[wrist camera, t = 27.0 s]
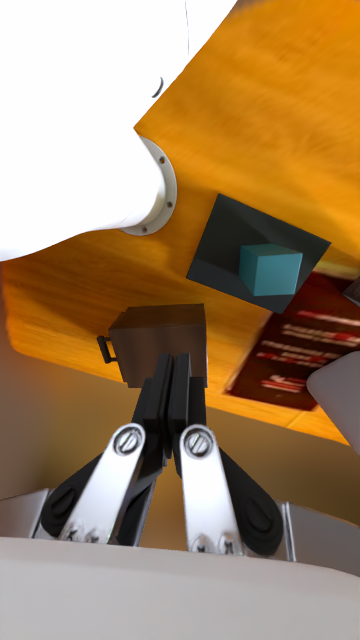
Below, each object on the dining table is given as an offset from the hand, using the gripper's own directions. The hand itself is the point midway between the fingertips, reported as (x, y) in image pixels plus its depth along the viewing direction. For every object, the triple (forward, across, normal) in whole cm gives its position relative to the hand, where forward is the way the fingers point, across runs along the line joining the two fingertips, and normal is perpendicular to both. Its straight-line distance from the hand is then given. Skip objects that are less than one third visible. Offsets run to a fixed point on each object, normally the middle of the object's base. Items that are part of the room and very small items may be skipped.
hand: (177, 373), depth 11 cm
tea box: (+27, -11, 0) cm, 29 cm away
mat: (+27, -11, 0) cm, 29 cm away
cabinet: (+27, +5, +14) cm, 31 cm away
